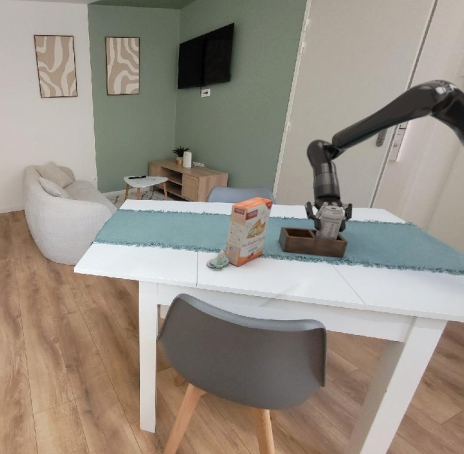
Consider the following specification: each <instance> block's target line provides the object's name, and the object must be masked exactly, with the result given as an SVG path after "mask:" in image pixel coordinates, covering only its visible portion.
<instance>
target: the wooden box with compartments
mask: <svg viewBox="0 0 464 454" xmlns="http://www.w3.org/2000/svg"><path fill="white" fill-rule="evenodd" d="M279 231H280V232H279V236H278V243H279V245H280V248H281V249H282V252H283V253H291V254H301V255H311V256H322V257H331V258H341V259H344V255H345V253H346V251H347V246H348V244H349V242H348V241H347V239H346V238H344V236H343V235H342V234H341V232H338V235H337V239H336V240H329V239H317V238H316V232H317V230H316V229H315V228H302V227H301V228H300V227H288V226H281V227H280V230H279Z"/></svg>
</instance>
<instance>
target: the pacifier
mask: <svg viewBox="0 0 464 454" xmlns="http://www.w3.org/2000/svg"><path fill="white" fill-rule="evenodd" d="M225 252H226V251H225V250H224V249H221V250H220V251H219V252H218V254H217V256H216V257H214V258H212V259H209V260H208V261H207V262H206V266H207V267H209V268H215V267H216V269H221V268H223V267H225V266H226V265H228V264H229V259H228V258H227V257H225ZM220 267H221V268H220Z"/></svg>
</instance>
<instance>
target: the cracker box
mask: <svg viewBox="0 0 464 454" xmlns="http://www.w3.org/2000/svg"><path fill="white" fill-rule="evenodd" d="M273 202H274V201H273V200H271V199H268V198H263V197H260V196H256V197H253V198H249V199H247V200H243V201H241V202H237V203H234V204H232V205H231V213H230V219H229V225H228V226H229V227H228V231H227V240H226V245H225V251H224V252H225V255H224V256H225V257H227V258H228V259H229V262H228V264H229V263H230V264H232V265H233V266H236V267H240V266H242V265H244V264H246V263H247V262H250V261H252V260H254V259H257V258H258V257H260V256H262V255H263V250H264V245H265V240H266V235H267V232H268V226H269V222H270V216H271V211H272V207H273Z"/></svg>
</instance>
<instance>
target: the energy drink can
mask: <svg viewBox="0 0 464 454" xmlns="http://www.w3.org/2000/svg"><path fill="white" fill-rule="evenodd" d="M344 213H345V212H344V210H343V208H342V207H338V206H326V207H325V209H323V210H322V213H321V216H320V218H319V219H321V229H320V230H319V231H317V232H316V238H317V239H329V240H336V239H337V235H338V232H339V228H340V225H341V222H342V218H343V215H344ZM339 233H340V232H339Z"/></svg>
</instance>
